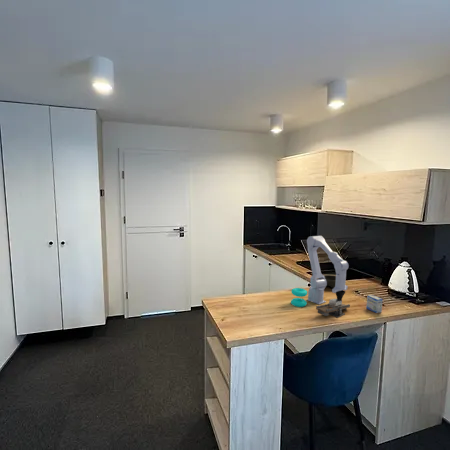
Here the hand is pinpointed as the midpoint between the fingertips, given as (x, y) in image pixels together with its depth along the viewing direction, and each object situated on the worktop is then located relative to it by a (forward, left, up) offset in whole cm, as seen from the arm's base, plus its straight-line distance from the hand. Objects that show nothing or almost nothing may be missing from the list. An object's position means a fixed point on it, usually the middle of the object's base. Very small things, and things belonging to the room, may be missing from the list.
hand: (339, 301), depth 188 cm
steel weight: (0, -4, -2) cm, 5 cm away
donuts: (-21, -12, -6) cm, 25 cm away
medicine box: (+13, +19, -6) cm, 24 cm away
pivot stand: (0, -2, -6) cm, 6 cm away
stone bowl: (-32, +41, -6) cm, 52 cm away
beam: (0, -6, -5) cm, 8 cm away
